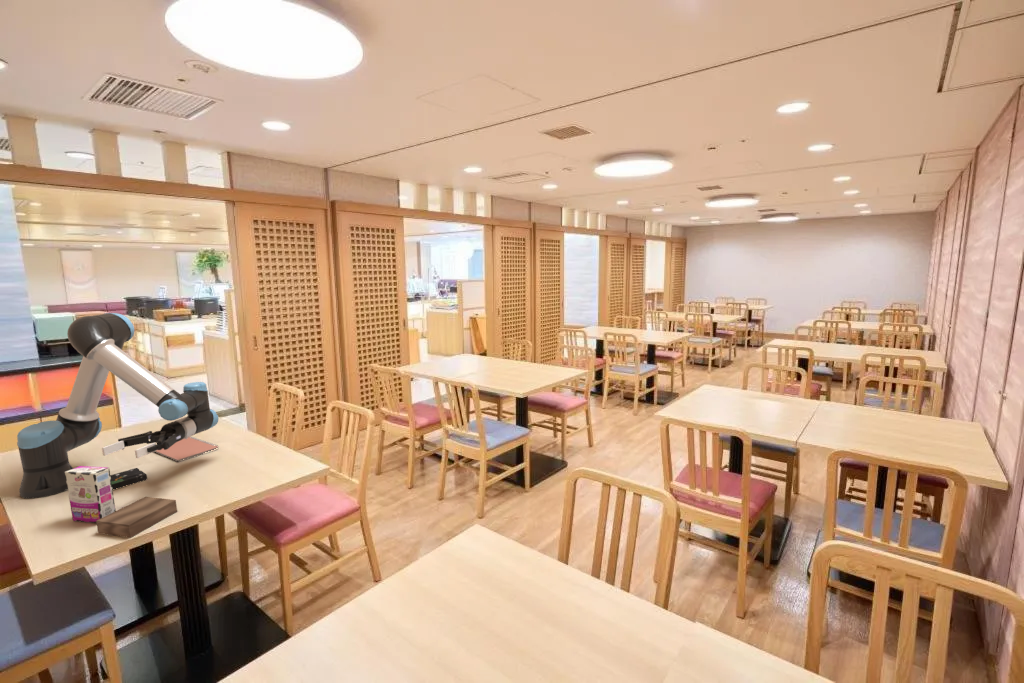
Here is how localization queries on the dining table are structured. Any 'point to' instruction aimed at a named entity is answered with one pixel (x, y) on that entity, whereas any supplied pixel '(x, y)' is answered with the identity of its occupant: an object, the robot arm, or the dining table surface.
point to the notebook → (187, 449)
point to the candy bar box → (90, 493)
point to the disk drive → (127, 478)
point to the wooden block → (136, 517)
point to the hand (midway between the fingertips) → (119, 453)
